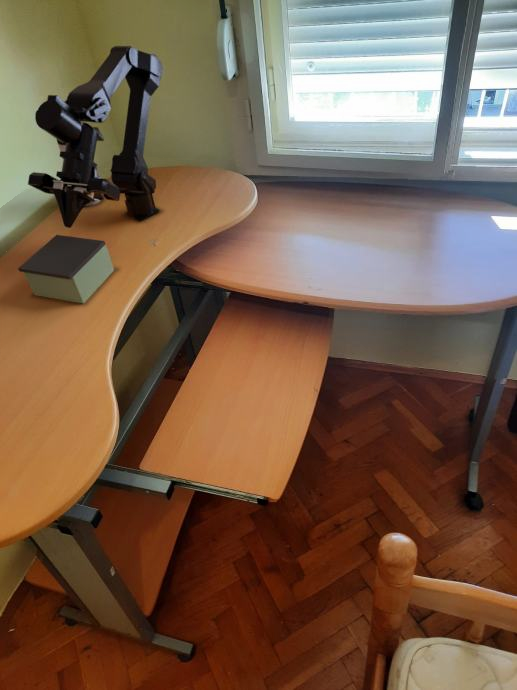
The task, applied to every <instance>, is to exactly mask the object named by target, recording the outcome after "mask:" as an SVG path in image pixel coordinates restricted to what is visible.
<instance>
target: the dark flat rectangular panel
mask: <svg viewBox="0 0 517 690" xmlns="http://www.w3.org/2000/svg"><path fill="white" fill-rule="evenodd" d="M104 245H106V241H105V240H100V239H93V238H85V237H77V236H68V235H62V234H56V235H55V236H53V237H52V238H51V239H50V240H48V241H47V242H46V243H45V244H44V245H42V247H40V248H39V249H38V250H37V251H36V252H34V253H33V255H32V256H30V257H29V258H28V259H26V260H25V261H24V262H23V263H22V264H21V265H19V267H18V268H17V270H18V271H19V272H20V273H24V272H26V273H32V274H38V275H45V276H51V277H57V278H63V279H69V280H71V279H72V278H73V277H74V276H75V275H76V274H77V273H78V271H79V270H80V269H81V268H82V267H83V266H84V265H85V264H86V263H87V262H88V261H89V260H90V259H91V258H92V257H93V256H94V255H95V254H96V253H97V252H98V251H99V250H100V249H101V248H102V247H103V246H104Z"/></svg>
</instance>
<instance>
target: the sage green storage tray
mask: <svg viewBox="0 0 517 690" xmlns="http://www.w3.org/2000/svg"><path fill="white" fill-rule="evenodd" d="M114 271H115V268H114V264H113V262H112V259H111V256H110V253H109V250H108V247H107V244H105V245H104V246H103V247H102V248H101V249H100V250H99V251H98V252H97V253H96V254H95V255H94V256H93V257H92V258H91V259H90V260H89V261H88V262H87V263H86V264H85V265H84V266H83V267H82V268H81V269H80V270H79V271H78V273H77V274H76V275H75V276H74V277H73V278H72V279H71V280H69V279H63V278H57V277H51V276H45V275H38V274H32V273H26V272H23V274H24V277H25V278H26V281H27V282H28V285H29V286H30V288H31V290H32V292H33V294H34V296H38V297H42V298H43V297H45V298H50V299H55V300H61V301H67V302H72V303H78V304H83V305H84V304H85V302H87V301H88V300H89V298H91V297H92V295H93V294H94V293H96V291H97V290H98V289H99V288H100V286H101V285H102V284H103V283H104V282H105V281H106V280H107V279H108V278H109V277H110V276H111V274H112V273H113V272H114Z"/></svg>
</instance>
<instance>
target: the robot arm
mask: <svg viewBox="0 0 517 690" xmlns="http://www.w3.org/2000/svg"><path fill="white" fill-rule="evenodd" d="M162 74H163V63H162V61H161V60H160V59H159V57H157V55H156V54H155V53H148V52H145V51H142V50H138V49H137V48H135V47H133V46H131V45H114V46H112V47H111V48H110V50H109V54H108V55H107V57H106V58H105V59H104V61H103V62H102V64H100V66H99V67H98V69H97V70H96V72H95V73H94V74H93V76H92V77H91V79H90V80H88V81H87V82H85V83H82V84H80V85H78V86H76V87H75V88H74V89H72V90H71V91H70V92H69V93H68V95H67V96H66V97H67V98H66V99H65V101H64V100H63V99H62V98H61V97H60V96H59V95H57V94H48V95H47V99H46V101H44V102H42V103H41V104H40V105H39V107H38V108H37V110H36V111H35V115H34V117H35V123H36V125H37V126H38V127H39V128H40V129H41V130H42V131H44V132H45V133H47V134H49V135H50V136H52V137H53V138H55V139H56V140H57V139H58V140H59V141H61V142H63V143H66V148H65V152H62V151H60V150H59V158H62V166H61V171H56V175H55V176H56V177H54V176H52V175H51V174H48V173H45V172H36V171H35V172H31V173H30V174H29V175H28V182H27V186H30V187H33V188H34V189H36V190H39V191H41V192H42V193H43V194H44V193H45V194H48V195H54V198H55V201H56V203H57V206H58V209H59V213H60V216H61V220H62V222H63V226H64V227H65V228H67V229H68V228H69V229H71V228H72V227H73V225H74V223H75V222H76V220H77V218H78V217H79V215H80V213H81V212H82V210H83V209H84V207H86V206H85V205H87V204H88V203H90V202H94V201H95V199H99V200H101V201H103V200H104V199H105V200H107V201H112V202H113V201H114V202H119V201H120V197H121V194H124V198H125V200H124V203H125V207H126V215H127V216H130V217H131V218H134V219H135V220H137V221H139V222H141V221H144V220H145V219H148V218H150V217H152V216H154V215H156V214H158V213H160V208H157V207H156V204H155V199H154V195H153V194H155V193H156V191H155V190H156V189H157V180H156V178H154V177H152V176H151V175H150V174H149V167H148V165H147V162H146V160H145V158H144V152H145V143H146V136H147V127H148V120H149V112H150V105H151V98H152V96H153V95H154V93H155V92H156V91H157V90H158V88H159V87H160V83H161V79H162ZM124 80H125V81H126V83H127V86H128V88H129V95H128V105H127V112H126V118H125V119H126V120H125V127H124V135H123V143H122V150H121V152H120V153H119V154H113V156H112V159H111V168H110V170H109V171H110V179H111V181H110V180H109V179H107V178H102V177H101V176H100V175H99V174H98V164H97V163H96V162H94V161H95V155H96V148H97V143H98V142H104V140H105V139H104V136H103V134H102V132H101V131H100V128H99V127H98V126H92V125H91V124H89V123H97V124H98V123H99V124H100V123H101V124H102V123H104V122H105V121H106V120H107V118H108V116H109V114H110V112H111V109H112V103H111V99H112V96H113V95H114V94H115V93H116V91H117V89H118V88H119V87H120V85H121V84H122V82H123V81H124Z"/></svg>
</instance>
